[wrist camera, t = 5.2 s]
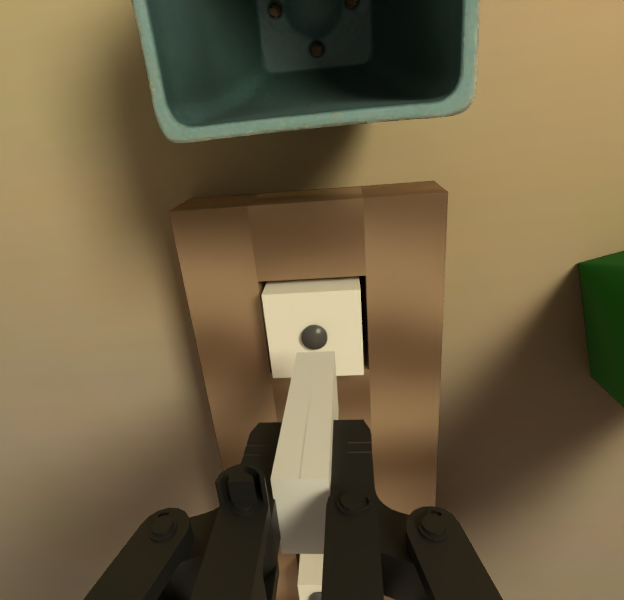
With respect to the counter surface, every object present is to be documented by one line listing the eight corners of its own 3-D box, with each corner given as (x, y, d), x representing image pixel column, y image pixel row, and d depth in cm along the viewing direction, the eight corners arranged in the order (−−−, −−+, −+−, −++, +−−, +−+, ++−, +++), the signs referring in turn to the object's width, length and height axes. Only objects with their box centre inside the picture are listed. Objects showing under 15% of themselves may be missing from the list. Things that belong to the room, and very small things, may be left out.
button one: (360, 339, 24) (364, 377, 21) (281, 342, 25) (272, 380, 21) (357, 263, 23) (360, 291, 19) (272, 268, 23) (260, 296, 20)
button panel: (422, 591, 33) (430, 635, 30) (264, 590, 34) (257, 633, 31) (433, 180, 21) (447, 191, 18) (189, 198, 22) (168, 211, 19)
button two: (371, 577, 30) (375, 635, 27) (307, 576, 31) (303, 634, 27) (369, 531, 29) (373, 588, 25) (302, 532, 29) (297, 588, 26)
